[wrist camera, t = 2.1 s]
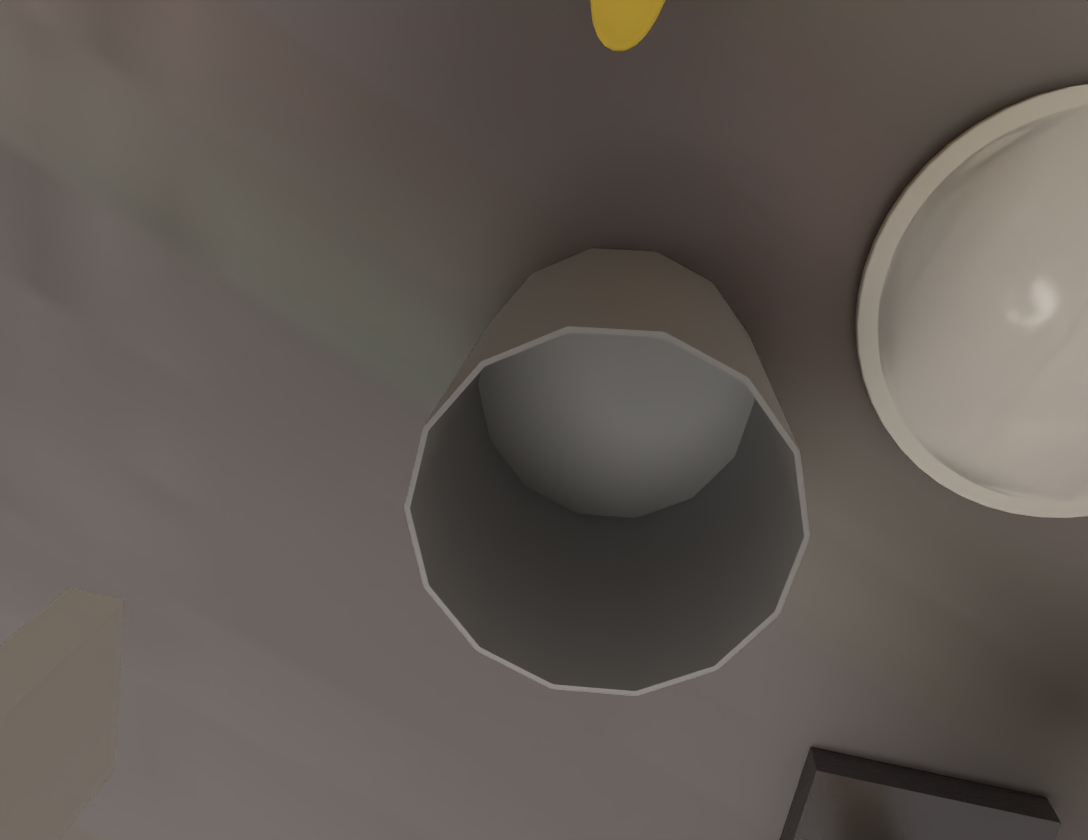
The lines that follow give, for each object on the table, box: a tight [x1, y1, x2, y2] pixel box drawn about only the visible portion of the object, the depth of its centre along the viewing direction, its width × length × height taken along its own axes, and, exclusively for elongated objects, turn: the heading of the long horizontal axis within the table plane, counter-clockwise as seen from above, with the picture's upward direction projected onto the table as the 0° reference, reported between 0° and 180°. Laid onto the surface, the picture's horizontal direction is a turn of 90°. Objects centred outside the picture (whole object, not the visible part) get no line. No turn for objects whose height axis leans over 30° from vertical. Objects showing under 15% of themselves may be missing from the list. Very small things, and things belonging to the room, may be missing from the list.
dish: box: [855, 84, 1088, 518], centre depth 28 cm, size 12×12×1 cm
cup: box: [404, 248, 810, 696], centre depth 25 cm, size 8×8×10 cm
